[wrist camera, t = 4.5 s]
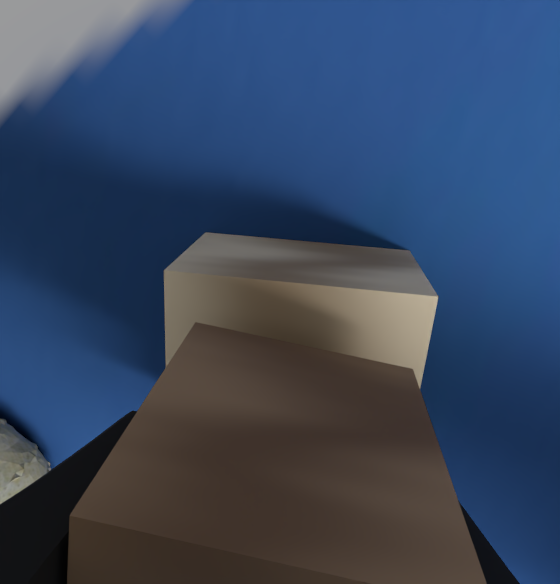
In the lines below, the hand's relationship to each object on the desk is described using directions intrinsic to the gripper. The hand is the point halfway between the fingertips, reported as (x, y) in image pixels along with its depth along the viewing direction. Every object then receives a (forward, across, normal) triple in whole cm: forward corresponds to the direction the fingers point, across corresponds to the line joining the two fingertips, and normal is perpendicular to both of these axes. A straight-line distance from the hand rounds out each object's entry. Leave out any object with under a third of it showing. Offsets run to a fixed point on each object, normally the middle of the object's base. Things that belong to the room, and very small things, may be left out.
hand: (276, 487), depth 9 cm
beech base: (+7, 0, 0) cm, 7 cm away
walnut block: (+2, 0, 0) cm, 2 cm away
